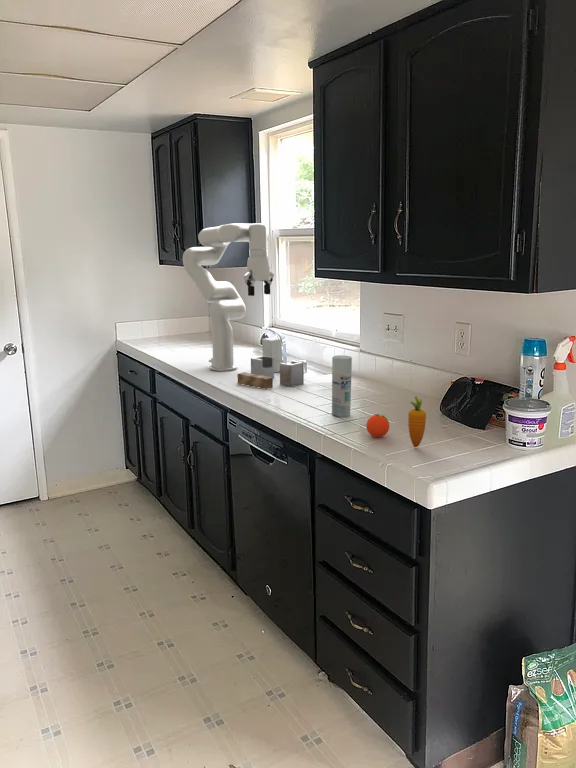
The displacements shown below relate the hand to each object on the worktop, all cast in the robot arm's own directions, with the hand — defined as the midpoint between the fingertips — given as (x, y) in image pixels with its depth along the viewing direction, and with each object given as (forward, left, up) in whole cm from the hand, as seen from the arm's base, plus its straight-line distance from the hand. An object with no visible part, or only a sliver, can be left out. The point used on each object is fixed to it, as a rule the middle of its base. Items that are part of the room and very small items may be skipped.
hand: (259, 294), depth 274 cm
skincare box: (-5, +13, -36) cm, 38 cm away
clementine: (+89, -38, -36) cm, 103 cm away
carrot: (+103, -40, -36) cm, 116 cm away
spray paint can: (+65, -26, -36) cm, 78 cm away
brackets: (+12, -2, -36) cm, 37 cm away
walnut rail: (+11, -14, -36) cm, 40 cm away
